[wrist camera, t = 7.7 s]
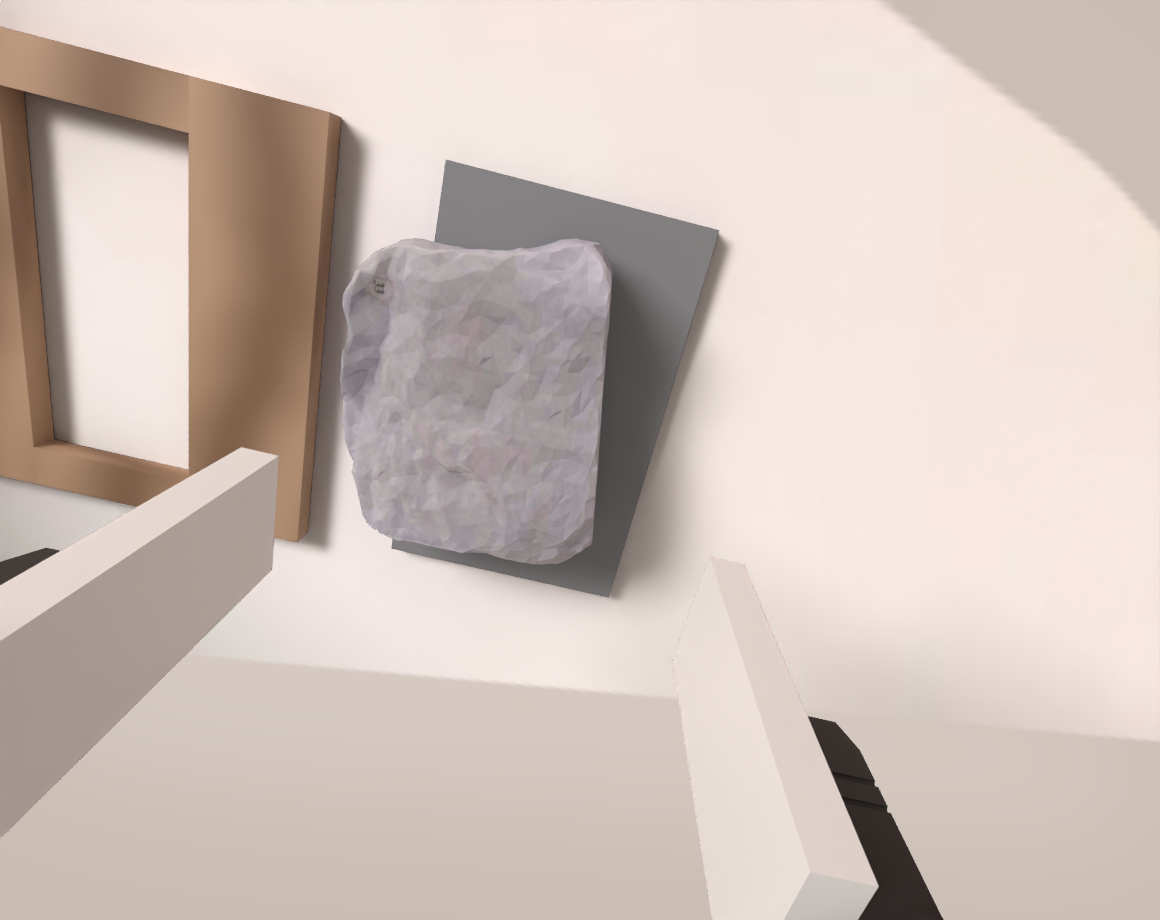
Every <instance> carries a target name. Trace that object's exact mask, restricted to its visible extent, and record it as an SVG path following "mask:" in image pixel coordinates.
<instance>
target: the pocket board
mask: <svg viewBox="0 0 1160 920" xmlns="http://www.w3.org/2000/svg"><path fill="white" fill-rule="evenodd" d="M24 91H26V92H30V93H34V94H38V95H41V96H45V97H49V98H53V99H57V100H61V101H65V102H69V103H73V104H77V105H81V106H84V107H88V108H92V109H96V110H100V111H104V112H108V113H112V114H116V115H120V116H124V117H127V118H131V119H135V120H139V121H143V122H147V123H151V124H155V125H159V126H163V127H167V128H171V129H174V130H178V131H182V132H186V133H189V470H186V469H182V468H177V467H173V466H169V465H164V464H160V463H155V462H151V461H147V460H142V459H138V458H134V457H129V456H125V455H120V454H116V453H112V452H107V451H103V450H98V449H94V448H90V447H85V446H81V445H76V444H72V443H68V442H63V441H59V440H55V439H54V432H53V421H52V409H51V398H50V386H49V375H48V364H47V352H46V341H45V329H44V318H43V307H42V295H41V284H40V272H39V261H38V250H37V238H36V227H35V215H34V204H33V193H32V181H31V170H30V158H29V147H28V135H27V124H26V113H25V101H24ZM340 130H341V117H339V116H337V115H334V114H332V113H330V112H326V111H323V110H319V109H315V108H311V107H307V106H303V105H300V104H296V103H292V102H288V101H284V100H280V99H277V98H273V97H269V96H265V95H261V94H257V93H253V92H250V91H246V90H242V89H238V88H234V87H230V86H227V85H223V84H219V83H215V82H211V81H207V80H204V79H200V78H196V77H192V76H188V75H184V74H180V73H177V72H173V71H169V70H165V69H161V68H157V67H154V66H150V65H146V64H142V63H138V62H134V61H131V60H127V59H123V58H119V57H115V56H111V55H107V54H104V53H100V52H96V51H92V50H88V49H84V48H81V47H77V46H73V45H69V44H65V43H61V42H58V41H54V40H50V39H46V38H42V37H38V36H34V35H31V34H27V33H23V32H19V31H15V30H11V29H8V28H4V27H0V476H3V477H7V478H12V479H16V480H21V481H25V482H30V483H34V484H39V485H43V486H48V487H52V488H57V489H61V490H65V491H70V492H74V493H79V494H83V495H88V496H92V497H97V498H101V499H106V500H110V501H115V502H119V503H123V504H128V505H132V506H137V507H138V506H140V505H141V504H143V503H145V502H147V501H148V500H150V499H152V498H154V497H155V496H157V495H159V494H161V493H162V492H164V491H166V490H168V489H169V488H171V487H173V486H174V485H176V484H178V483H180V482H181V481H183V480H185V479H187V478H188V477H190V476H192V475H194V474H195V473H197V472H199V471H201V470H202V469H204V468H206V467H208V466H209V465H211V464H213V463H215V462H216V461H218V460H220V459H222V458H223V457H225V456H227V455H229V454H230V453H232V452H234V451H236V450H237V449H239V448H241V447H243V448H247V449H252V450H256V451H260V452H265V453H269V454H273V455H277V456H279V460H278V477H277V494H276V512H275V529H274V537H275V538H280V539H284V540H289V541H293V542H298V541H299V540H300V539H301V538H302V537H303V536H304V535H305V534H306V533H307V532H308V524H309V512H310V499H311V487H312V475H313V462H314V450H315V438H316V425H317V413H318V401H319V388H320V376H321V364H322V352H323V339H324V327H325V315H326V302H327V290H328V278H329V265H330V253H331V241H332V228H333V216H334V204H335V191H336V179H337V167H338V155H339V142H340Z"/></svg>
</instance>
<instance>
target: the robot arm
mask: <svg viewBox="0 0 1160 920" xmlns="http://www.w3.org/2000/svg"><path fill="white" fill-rule="evenodd" d="M278 460H279V456H277V455H273V454H269V453H265V452H260V451H256V450H252V449H247V448H243V447H241V448H239V449H237V450H236V451H234V452H232V453H230V454H229V455H227V456H225V457H223V458H222V459H220V460H218V461H216V462H215V463H213V464H211V465H209V466H208V467H206V468H204V469H202V470H201V471H199V472H197V473H195V474H194V475H192V476H190V477H188V478H187V479H185V480H183V481H181V482H180V483H178V484H176V485H174V486H173V487H171V488H169V489H168V490H166V491H164V492H162V493H161V494H159V495H157V496H155V497H154V498H152V499H150V500H148V501H147V502H145V503H143V504H141V505H140V506H138V507H136V508H134V509H133V510H131V511H129V512H127V513H126V514H124V515H122V516H120V517H119V518H117V519H115V520H113V521H112V522H110V523H108V524H107V525H105V526H103V527H101V528H100V529H98V530H96V531H94V532H93V533H91V534H89V535H87V536H86V537H84V538H82V539H80V540H79V541H77V542H75V543H73V544H72V545H70V546H68V547H66V548H65V549H63V550H61V551H58V550H54V549H49V548H44V549H41V550H38V551H34V552H31V553H28V554H25V555H21V556H18V557H15V558H12V559H9V560H5V561H2V562H0V838H1V837H2V836H3V835H4V834H5V833H6V832H7V831H8V830H9V829H10V828H11V827H12V826H13V825H15V823H17V821H19V819H20V818H22V817H23V816H24V814H26V813H27V812H28V811H29V810H30V809H31V808H32V807H33V806H34V804H36V803H37V802H38V801H39V800H40V799H41V798H42V797H43V796H44V795H45V794H46V793H47V792H48V791H49V790H50V789H51V788H52V787H53V786H54V785H55V784H56V783H57V782H58V781H59V780H60V779H61V778H62V777H63V776H64V775H65V774H66V773H67V772H68V771H69V770H70V769H71V768H72V767H73V766H74V765H75V764H76V763H77V762H78V761H79V760H80V759H81V758H82V757H83V756H84V755H85V754H86V753H87V752H88V751H89V750H90V749H91V748H92V747H93V746H94V745H95V744H96V743H97V742H98V741H99V740H100V739H101V738H102V737H103V736H104V735H105V734H106V733H107V732H108V731H109V730H110V729H111V728H112V727H113V726H114V725H115V724H116V723H117V722H118V721H120V719H122V717H124V716H125V715H126V714H127V713H128V712H129V711H130V710H131V708H132V707H134V706H135V705H136V704H137V703H138V702H139V700H141V699H142V698H143V697H144V696H145V695H146V694H147V693H148V692H149V691H150V690H151V689H152V688H153V687H154V686H155V685H156V684H157V683H158V682H159V681H160V680H161V679H162V678H163V677H164V676H165V675H166V674H167V673H168V672H169V671H170V670H171V669H172V668H173V667H174V666H175V665H176V664H177V663H178V662H179V661H180V660H181V659H182V658H183V657H184V656H185V655H186V654H187V653H188V652H189V651H190V650H191V649H192V648H193V647H194V646H195V645H196V644H197V643H198V642H199V641H200V640H201V639H202V638H203V637H204V636H205V635H206V634H207V633H208V632H209V631H210V630H211V629H212V628H213V627H214V626H215V625H216V624H217V623H218V622H219V621H220V620H221V619H222V618H223V617H225V616H226V615H227V614H228V613H229V612H230V611H231V610H232V609H233V608H234V607H235V606H236V605H237V604H238V603H239V602H240V601H241V600H242V599H243V598H244V597H245V596H246V595H247V594H248V593H249V592H250V591H251V590H252V589H253V588H254V587H255V586H256V585H257V584H258V583H259V582H260V581H261V580H262V579H263V578H264V577H265V576H266V575H267V574H268V573H269V572H270V571H271V570H272V563H273V546H274V529H275V512H276V494H277V477H278ZM672 662H673V669H674V675H675V682H676V688H677V695H678V701H679V708H680V715H681V721H682V728H683V734H684V740H685V747H686V754H687V759H688V767H689V773H690V780H691V787H692V793H693V800H694V806H695V813H696V819H697V826H698V832H699V839H700V845H701V851H702V858H703V865H704V872H705V878H706V885H707V891H708V898H709V904H710V911H711V916H712V920H943V918H942V916H941V915H940V913H939V911H938V908H937V906H936V904H935V902H934V900H933V898H932V896H931V894H930V892H929V890H928V888H927V886H926V884H925V882H924V880H923V878H922V876H921V874H920V872H919V870H918V868H917V866H916V864H915V862H914V860H913V857H912V856H911V853H910V851H909V849H908V847H907V845H906V843H905V841H904V839H903V837H902V835H901V833H900V831H899V829H898V827H897V825H896V823H895V821H894V819H893V817H892V815H891V813H888V812H887V805H886V803H885V801H884V798H883V796H882V794H881V792H880V790H879V788H878V787H875V785H874V782H875V780H874V778H873V776H872V774H871V772H870V770H869V768H868V766H867V764H866V762H865V760H864V758H863V756H862V754H861V752H860V750H859V749H858V748H857V747H856V745H855V744H854V743H853V742H852V741H851V740H850V739H849V737H848V736H847V735H846V734H845V733H844V732H843V731H842V729H841V728H840V727H839V726H838V725H837V724H836V723H835V722H832V721H827V720H823V719H818V718H813V717H809V716H807V714H806V711H805V709H804V706H803V704H802V702H801V699H800V697H799V694H798V692H797V690H796V687H795V685H794V682H793V680H792V678H791V675H790V673H789V670H788V668H787V666H786V663H785V661H784V658H783V656H782V654H781V651H780V649H779V646H778V644H777V642H776V639H775V637H774V634H773V632H772V630H771V627H770V625H769V623H768V620H767V618H766V615H765V613H764V611H763V608H762V606H761V603H760V601H759V599H758V596H757V594H756V591H755V589H754V587H753V584H752V582H751V579H750V577H749V575H748V572H747V570H746V567H745V565H743V564H739V563H734V562H730V561H726V560H722V559H717V558H713V557H709V560H708V562H707V565H706V568H705V571H704V573H703V576H702V579H701V582H700V584H699V587H698V590H697V593H696V595H695V598H694V601H693V604H692V606H691V609H690V612H689V615H688V617H687V620H686V623H685V626H684V628H683V631H682V634H681V637H680V639H679V642H678V645H677V648H676V650H675V653H674V656H673V659H672Z"/></svg>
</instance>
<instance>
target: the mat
mask: <svg viewBox="0 0 1160 920" xmlns="http://www.w3.org/2000/svg"><path fill="white" fill-rule="evenodd" d="M718 233H719V230H716V229H712V228H708V227H704V226H700V225H696V224H692V223H689V222H685V221H681V220H677V219H673V218H669V217H665V216H662V215H658V214H654V213H650V212H646V211H642V210H638V209H635V208H631V207H627V206H623V205H619V204H615V203H611V202H607V201H604V200H600V199H596V198H592V197H588V196H584V195H580V194H577V193H573V192H569V191H565V190H561V189H557V188H553V187H550V186H546V185H542V184H538V183H534V182H530V181H526V180H523V179H519V178H515V177H511V176H507V175H503V174H499V173H495V172H492V171H488V170H484V169H480V168H476V167H472V166H468V165H465V164H461V163H457V162H453V161H449V160H446V163H445V170H444V177H443V185H442V192H441V199H440V206H439V213H438V220H437V227H436V234H435V242H436V243H441V244H445V245H451V246H460V247H463V248H466V249H487V250H505V251H509V250H515V249H517V248H527V249H529V248H534V247H539V246H542V245H547V244H551V243H553V242H556V241H558V240H561V239H575V238H577V239H580V240H585V241H592V242H596V243H600V244H601V246H602V247H603V249H604V251H605V252H606V254H607V256H608V258H609V260H610V262H611V267H612V286H611V303H610V320H609V331H608V338H607V347H606V360H605V376H604V386H603V398H602V414H601V427H600V442H599V459H598V476H597V486H596V497H595V510H594V521H593V538H592V543H591V545H589V546H588V547H586V548H585V549H584V550H582V551H581V552H579V553H577V554H575V555H574V556H572V557H571V558H570V559H567V560H565V561H563V562H561V563H559V564H529V563H521V562H516V561H512V560H506V559H502V558H499V557H496V556H493V555H490V554H487V553H459V552H456V551H450V550H445V549H440V548H435V547H431V546H426V545H422V544H418V543H416V542H406V541H398V540H395V539H393V541H392V549H396V550H400V551H405V552H409V553H414V554H418V555H423V556H427V557H432V558H436V559H440V560H445V561H449V562H454V563H458V564H463V565H467V566H472V567H476V568H480V569H485V570H489V571H494V572H498V573H503V574H507V575H511V576H516V577H520V578H525V579H529V580H534V581H538V582H543V583H547V584H551V585H556V586H560V587H565V588H569V589H574V590H578V591H582V592H587V593H591V594H596V595H600V596H605V597H609V594H610V591H611V588H612V584H613V581H614V578H615V574H616V571H617V568H618V564H619V561H620V558H621V554H622V551H623V548H624V544H625V541H626V538H627V534H628V531H629V528H630V525H631V521H632V518H633V515H634V511H635V508H636V505H637V501H638V498H639V495H640V491H641V488H642V485H643V481H644V478H645V475H646V472H647V468H648V465H649V462H650V458H651V455H652V452H653V448H654V445H655V442H656V438H657V435H658V432H659V428H660V425H661V422H662V418H663V415H664V412H665V409H666V405H667V402H668V399H669V395H670V392H671V389H672V385H673V382H674V379H675V375H676V372H677V369H678V365H679V362H680V359H681V356H682V352H683V349H684V346H685V342H686V339H687V336H688V332H689V329H690V326H691V322H692V319H693V316H694V312H695V309H696V306H697V302H698V299H699V296H700V293H701V289H702V286H703V283H704V279H705V276H706V273H707V269H708V266H709V263H710V259H711V256H712V253H713V249H714V246H715V243H716V239H717V236H718Z"/></svg>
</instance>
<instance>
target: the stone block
mask: <svg viewBox="0 0 1160 920" xmlns="http://www.w3.org/2000/svg"><path fill="white" fill-rule="evenodd" d="M611 286H612V267H611V262H610V260H609V258H608V256H607V254H606V252H605V251H604V249H603V247H602V246H601V244H600V243H596V242H592V241H585V240H580V239H577V238H575V239H561V240H558V241H556V242H553V243H551V244H547V245H542V246H539V247H534V248H529V249H527V248H517V249H515V250H509V251H505V250H487V249H466V248H463V247H460V246H451V245H445V244H441V243H436V242H432V241H428V240H424V239H416V238H415V239H405V240H400V241H399V242H397V243H396V244H393V245H391V246H388V247H386V248H382V249H380V250H378V251H376V252H374V253H373V254H372V255H371V257H370V258H369V259H367V260H366V261H365V262H364V263H363V264H362V265H361V266H360V267H359V268H358V269H357V270H355V273H354V275H353V278H352V280H351V282H350V283H349V285H348V286H347V288H346V290H345V292H344V294H343V302H342V307H343V310H344V314H345V317H346V321H347V324H348V335H347V342H346V344H345V346H344V348H343V350H342V356H341V375H340V383H341V395H342V399H343V401H344V403H343V423H342V425H343V428H344V432H345V440H346V444H347V448H348V450H349V453H350V455H351V457H352V459H353V461H354V463H353V469H352V474H353V476H354V479H355V483H356V487H357V491H358V496H359V500H360V505H361V509H362V514H363V516H364V517H365V520H366V522H367V523H368V524H369V525H370V526H371V527H372V528H373V529H377V530H378V531H379V533H381V534H384V535H386V536H388V537H390V538H392V539H395V540H398V541H406V542H416V543H418V544H422V545H426V546H431V547H435V548H440V549H445V550H450V551H456V552H459V553H487V554H490V555H493V556H496V557H499V558H502V559H506V560H512V561H516V562H521V563H529V564H559V563H561V562H563V561H565V560H567V559H570V558H571V557H572V556H574V555H575V554H577V553H579V552H581V551H582V550H584V549H585V548H586V547H588V546H589V545H591V543H592V538H593V521H594V510H595V497H596V486H597V476H598V459H599V442H600V427H601V414H602V398H603V386H604V376H605V360H606V347H607V338H608V331H609V320H610V303H611Z"/></svg>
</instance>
